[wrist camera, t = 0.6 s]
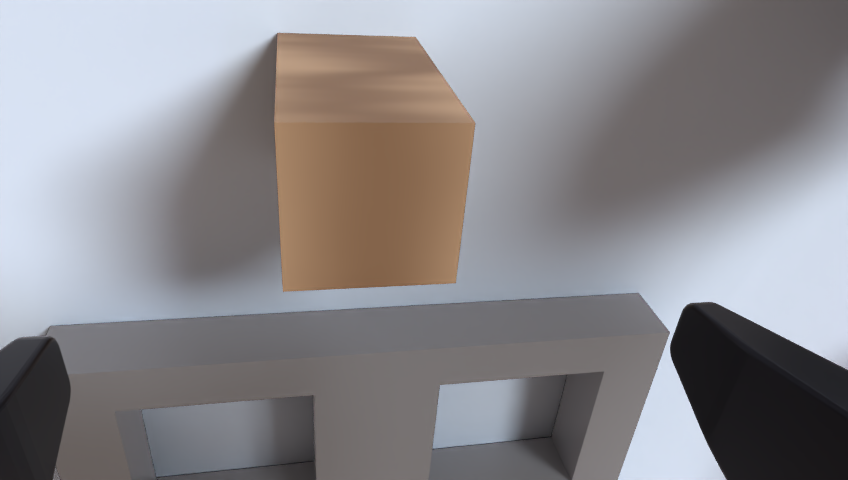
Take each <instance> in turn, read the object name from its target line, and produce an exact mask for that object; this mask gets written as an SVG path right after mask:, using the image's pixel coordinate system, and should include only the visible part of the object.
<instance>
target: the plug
mask: <svg viewBox="0 0 848 480" xmlns="http://www.w3.org/2000/svg"><path fill="white" fill-rule="evenodd" d="M274 129H275V148H276V167H277V187H278V206H279V225H280V245H281V264H282V284H283V292H285V291H305V290H325V289H346V288H366V287H387V286H407V285H428V284H448V283H456V276H457V268H458V260H459V252H460V243H461V235H462V227H463V219H464V211H465V203H466V194H467V186H468V178H469V170H470V162H471V154H472V146H473V137H474V129H475V122H474V120H473V119H472V118H471V116H470V115H469V113H468V112H467V110H466V109H465V108H464V106H463V105H462V103H461V102H460V100H459V99H458V97H457V96H456V95H455V93H454V92H453V90H452V89H451V87H450V86H449V84H448V83H447V82H446V80H445V79H444V77H443V76H442V74H441V73H440V72H439V70H438V69H437V67H436V66H435V64H434V63H433V61H432V60H431V59H430V57H429V56H428V54H427V53H426V51H425V50H424V49H423V47H422V46H421V44H420V43H419V41H418V40H417V38H416V37H396V36H363V35H330V34H297V33H277V60H276V87H275V114H274Z"/></svg>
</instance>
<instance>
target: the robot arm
mask: <svg viewBox="0 0 848 480" xmlns="http://www.w3.org/2000/svg"><path fill="white" fill-rule="evenodd" d="M670 353H671V358H672V361H673V363H674V366H675V368H676V370H677V373H678V375H679V378H680V380H681V382H682V385H683V387H684V390H685V392H686V394H687V397H688V399H689V402H690V404H691V406H692V409H693V411H694V414H695V416H696V418H697V421H698V423H699V426H700V428H701V430H702V433H703V435H704V437H705V439H706V441H707V444H708V446H709V448H710V450H711V452H712V453H713V455H714V457H715V459H716V461H717V463H718V465H719V467H720V469H721V470H722V472H723V474H724V476H725V478H726V480H848V370H847V369H845V368H843V367H841V366H839V365H837V364H835V363H833V362H831V361H829V360H827V359H825V358H823V357H821V356H819V355H817V354H815V353H813V352H811V351H809V350H807V349H805V348H803V347H801V346H799V345H797V344H795V343H793V342H792V341H790V340H788V339H786V338H784V337H782V336H780V335H778V334H776V333H774V332H772V331H770V330H768V329H766V328H764V327H762V326H760V325H758V324H756V323H754V322H752V321H750V320H748V319H746V318H744V317H742V316H740V315H738V314H736V313H734V312H732V311H730V310H728V309H726V308H724V307H722V306H720V305H718V304H716V303H713V302H701V303H690V304H688V305H686V306H685V308H684V309H683V311H682V313H681V316H680V319H679V322H678V324H677V327H676V330H675V333H674V335H673V338H672V341H671V345H670ZM70 397H71V385H70V380H69V376H68V373H67V370H66V366H65V363H64V360H63V356H62V353H61V350H60V346H59V344H58V342H57V340H56V339H55V338H53V337H51V336H33V337H21V338H18V339H16V340H14V341H12V342H11V343H10V344H8V345H7V346H5V347H4V348H2V349H1V350H0V480H53V476H54V471H55V467H56V462H57V457H58V453H59V448H60V444H61V439H62V435H63V430H64V426H65V421H66V417H67V412H68V408H69V403H70Z"/></svg>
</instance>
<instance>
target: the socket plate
mask: <svg viewBox="0 0 848 480" xmlns="http://www.w3.org/2000/svg"><path fill="white" fill-rule="evenodd" d="M669 334H670V332H669V331H668V329H667V328H666V327H665V326H664V324H663V323H662V322H661V320H660V319H659V318H658V317H657V315H656V314H655V313H654V312H653V310H652V309H651V308H650V307H649V305H648V304H647V303H646V302H645V300H644V299H643V298H642V297H641V295H640V294H639V293H632V294H615V295H597V296H579V297H561V298H543V299H525V300H507V301H489V302H471V303H454V304H436V305H418V306H400V307H382V308H364V309H346V310H328V311H310V312H293V313H275V314H257V315H239V316H221V317H203V318H185V319H167V320H149V321H132V322H114V323H96V324H78V325H60V326H50V328H49V330H48V332H47V334H46V336H51V337H53V338H55V339H56V340H57V342H58V344H59V346H60V350H61V353H62V356H63V360H64V363H65V366H66V370H67V373H68V376H69V380H70V385H71V397H70V403H69V408H68V412H67V417H66V421H65V426H64V430H63V435H62V439H61V444H60V448H59V453H58V457H57V462H56V468H57V471H58V474H59V477H60V480H618V477H619V474H620V471H621V468H622V465H623V463H624V460H625V457H626V454H627V451H628V449H629V446H630V443H631V440H632V437H633V435H634V432H635V429H636V426H637V423H638V421H639V418H640V415H641V412H642V409H643V407H644V404H645V401H646V398H647V395H648V393H649V390H650V387H651V384H652V381H653V378H654V376H655V373H656V370H657V367H658V364H659V362H660V359H661V356H662V353H663V350H664V348H665V345H666V342H667V339H668V336H669ZM555 375H567V378H566V382H565V386H564V390H563V394H562V398H561V401H560V405H559V409H558V413H557V417H556V421H555V424H554V428H553V432H552V436H551V437H549V438H539V439H529V440H519V441H510V442H500V443H490V444H480V445H471V446H461V447H451V448H441V449H432V446H433V438H434V429H435V421H436V413H437V404H438V396H439V387H440V385H445V384H457V383H469V382H481V381H494V380H506V379H518V378H530V377H542V376H555ZM311 395H313V420H314V462H305V463H295V464H285V465H276V466H266V467H256V468H246V469H237V470H227V471H217V472H207V473H198V474H188V475H178V476H168V477H159V478H156V475H155V471H154V466H153V462H152V457H151V453H150V448H149V444H148V439H147V435H146V430H145V426H144V421H143V417H142V412H141V409H152V408H164V407H176V406H189V405H201V404H213V403H225V402H237V401H250V400H262V399H274V398H286V397H298V396H311Z"/></svg>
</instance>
